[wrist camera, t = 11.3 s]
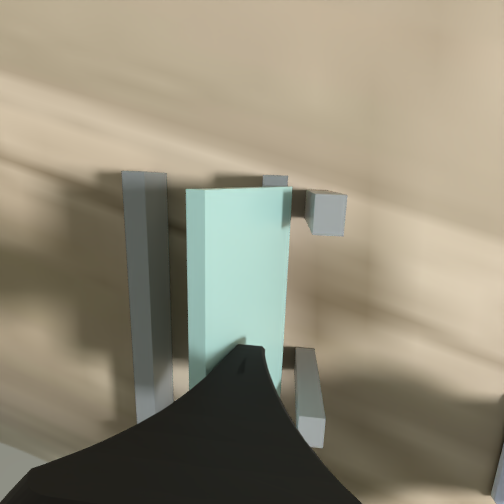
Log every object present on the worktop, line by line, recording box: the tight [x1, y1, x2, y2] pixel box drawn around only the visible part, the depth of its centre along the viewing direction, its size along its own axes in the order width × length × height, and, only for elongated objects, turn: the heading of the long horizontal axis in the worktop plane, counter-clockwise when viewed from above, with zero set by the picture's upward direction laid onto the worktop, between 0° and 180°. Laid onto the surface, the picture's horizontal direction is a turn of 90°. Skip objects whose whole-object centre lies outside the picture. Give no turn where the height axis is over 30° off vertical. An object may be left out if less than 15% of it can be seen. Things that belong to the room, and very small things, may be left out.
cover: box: [186, 186, 292, 397], centre depth 12 cm, size 8×12×1 cm
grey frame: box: [122, 171, 347, 448], centre depth 18 cm, size 11×24×6 cm, turn 178°
